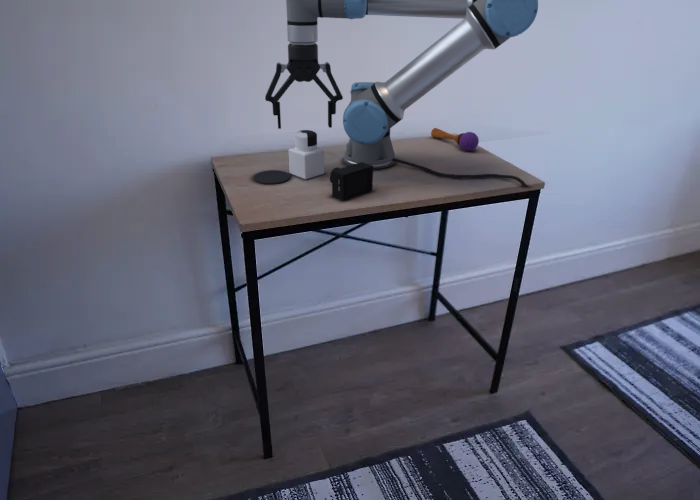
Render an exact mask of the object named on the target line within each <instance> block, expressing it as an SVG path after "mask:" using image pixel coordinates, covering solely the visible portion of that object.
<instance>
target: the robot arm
mask: <svg viewBox="0 0 700 500" xmlns="http://www.w3.org/2000/svg"><path fill="white" fill-rule="evenodd" d="M285 3H286V5H285V6H286V31H287V41H288V42H289V43H288V45H287V53H288V54H287V57H288V62H287V64H286V63H281V62H277V63H276V66H275V72H274V75H273V77H272V80H271V82H270V84H269V85H268V89H267V91H266V93H265V96H264V100H265V101H266V102H269V103H271V104H272V115H273V116H277V129H279V130H281V129H282V122H281V121H282V119H281V117H282V116H281V102H280V99H281V98H282V96H284V95H285V92H287V90H288V89H289V88H290V87H291V86H292V84H293V83H294V82H295V81H296V82H298V83H303V82H306V83H310V82H312V81H314V82H315V84H316V85H317V86H318V87H319V88H320V90H321V91H322V92H323V94H325V95H326V97H327V98H328V99H329V100H328V101H327V126H328V128H329V129H330V128H333V115H336V113H337V102H339V101H342V100H343V99H344V96H343V94H342V93H341V90H340V88H339V86H338V84H337V82H336V80H335V78H334V76H333V73H332V70H331V64H330V63H329V61H326V62H325V63H319V45H318V43H317V42H318V41H319V37H318V35H319V32H318V27H319V26H318V18H325V19H327V18H329V19H349V20H356V19H364V18H365V16H382V17H383V16H384V17H407V18H409V17H412V18H433V19H434V18H435V19H437V18H438V19H459V20H460V19H461V21H460V22H458V23H457V24H456V25H455V26H453V27H451V29H449V30H448V31H447V32H446V33H444V35H442V36H441V37H440V38H439V39H437V40H436V41H435V42H433V43H432V44H431V45H429V46H428V47H427V48H426V49H424V50H423V51H422V52H420V54H418V56H416V57H415V58H414V59H412V60H411V61H410V62H409V63H407V64H406V65H405V66H403V67H402V68H401V69H399V71H397V72H396V73H395V74H394V75H392V76H391V77H390V78H388V80H386V81H375V82H373V81H372V82H371V81H361V82H360V81H359V82H353V83H352V84H351V87H350V101H349V104H348V105H347V106H346V108H345V109H344V112H343V117H342V125H343V129H344V132H345V134H346V135H347V136H348V142H347V143H346V146H345V151H344V155H343V157H344V158H343V161H344V163H345V165H347V166H350V165H354V164H357V163H360V162H363V163H366V164H369V165H371V166H373V170H383V169H386V168H390V167H392V166H393V165H394V164H395V163H399V164H402V165H406V166H408V167H409V166H410V167H413V168H417V169H420V170H423V171H425V172H428V173H431V174H433V175H435V176H440V177H445V178H453V179H454V178H457V179H480V178H500V179H510V180H515V181H516V182H518V183H519V184H521V185H522V187H523V188H528V185H527V183H526V182H525V181H524V180H523V179H522V178H520V177H518V176H516V175H509V174H498V173H479V174H452V173H445V172H440V171H436V170H433V169H431V168H429V167H426V166H423V165H420V164H417V163H413V162H409V161H406V160H402V159H398V158H396V154H395V150H394V146H393V142H392V139H391V129H392V128H393V127H394V126H396V125H397V124H398V123H399V122H401V121H402V120H403V119H404V117H405V116H404V115H405V111H406V110H407V109H408V108H409V107H410V106H412V105H413V104H415V103H416V102H417V101H419V100H421V98H422V97H424V96H425V95H427V94H428V93H429V92H431V91H432V90H433V89H434V88H436V87H437V86H439V85H440V84H441V83H443V81H445V80H446V79H447V78H449V77H451V75H453V74H454V73H455V72H456V71H458V70H459V69H460V68H462V67H463V66H464V65H466V64H467V63H468V62H470V61H471V60H473V59H474V58H475V57H476V56H477V55H479V54H480V53H482V52H483V51H484V50H493V51H494V50H496V49H498V48H499V47H500V46H501V45H502V44H504V43H505V42H507V41H509V39H511V38H514V37H518V36H519V35H521V34H523V33H524V32H526V31H527V30H528V29H529V28H530V27H531V26H532V24H533V23H534V22H535V20H536V18H537V14H538V10H539V0H285ZM285 70H287V71H288V73H289V74H290V75H289V76H288V77H287V79H286V80H285V81H284V82H283V84H282V85H281V87H280V88H279V89H278V90H277V92H276V93H275V94H274V95H273V93H274V92H275V89H276V86H277V85H278V82H279V80H280V78H281V75H282V74H284V72H285ZM320 70H322V72H323V73H325V74H326V76H327V78H328V80H329V82H330V84H331V86H332V89H333V90H334V93H335V94H336V95H334V94H333V93H332V92H331V91H330V89H329V88H328V87H327V86H326V85H325V83H324V82H323V81H322V80H321V79H320V77H319V76H318V74H319V71H320ZM519 279H520V278H517V277H515V280H514V286H513V292H515V293H517V291H518V285H519Z"/></svg>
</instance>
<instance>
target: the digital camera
mask: <svg viewBox="0 0 700 500" xmlns="http://www.w3.org/2000/svg"><path fill="white" fill-rule="evenodd" d="M373 181H374V169H373V166H371V165H369V164H366V163H363V162H360V163H357V164H354V165H350V166H349V165H347V166H343V167H335V168H333V169H332V170H331V172H330V174H329V182H330V183H331V196H332V197H333V198H335V199H337V200H339V201H342V202H345V201H348V200H351V199H354V198H356V197H360V196H362V195H365V194H369V193H370V192H373V185H374V184H373V183H374V182H373Z"/></svg>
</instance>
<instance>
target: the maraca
mask: <svg viewBox="0 0 700 500" xmlns="http://www.w3.org/2000/svg"><path fill="white" fill-rule="evenodd" d="M430 135H431V137H432V138H434V139H443V140H454V141H455V143H456V144H457V145H458V146H459V147H461V149H462V150H463V151H466V152H472V151H474V150H475V149H477V147H478V146H479V141H480V140H479V136H478V135H477V134H476V133H475V132H472V131H467V132H462V133H459V134H457V135H454V134H451V133H449V132H447V131H444V130H442V129H441V128H437V127H434V128H432V129H431V131H430Z"/></svg>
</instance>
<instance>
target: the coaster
mask: <svg viewBox="0 0 700 500" xmlns="http://www.w3.org/2000/svg"><path fill="white" fill-rule="evenodd" d="M290 179H291V174H290V173H289V172H286V171H283V170H277V169H276V170H273V169H271V170H265V171H264V170H263V171H260V172H257V173H255V174H254V175H253V181H254V182H256V183H259V184H262V185H279V184H284V183H286V182H289V180H290Z"/></svg>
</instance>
